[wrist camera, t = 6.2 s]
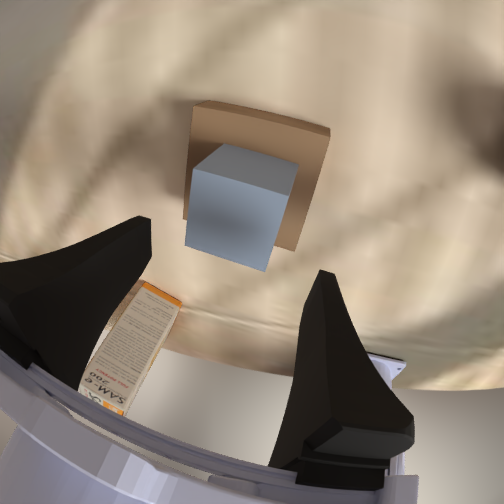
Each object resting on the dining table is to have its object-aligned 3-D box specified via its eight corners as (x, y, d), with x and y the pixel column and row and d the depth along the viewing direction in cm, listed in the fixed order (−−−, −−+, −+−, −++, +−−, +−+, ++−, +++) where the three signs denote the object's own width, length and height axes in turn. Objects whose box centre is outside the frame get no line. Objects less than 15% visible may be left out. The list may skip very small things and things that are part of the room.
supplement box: (143, 278, 29) (74, 380, 19) (184, 301, 30) (125, 411, 19) (133, 318, 34) (81, 404, 24) (167, 338, 35) (120, 427, 24)
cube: (279, 228, 19) (264, 272, 16) (213, 207, 19) (184, 245, 16) (298, 164, 16) (288, 196, 13) (224, 143, 17) (193, 168, 13)
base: (299, 228, 22) (294, 251, 20) (198, 200, 23) (182, 219, 21) (329, 127, 17) (330, 137, 15) (211, 99, 18) (193, 106, 16)
